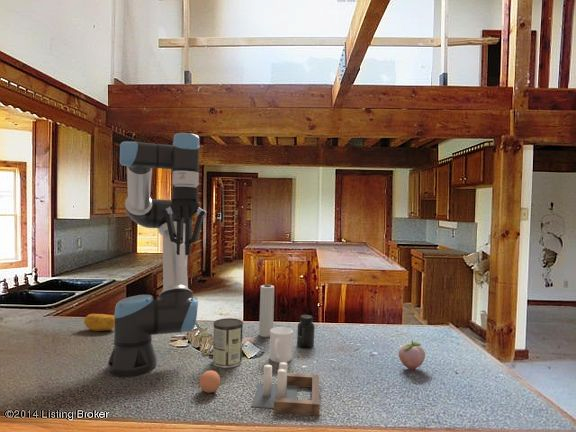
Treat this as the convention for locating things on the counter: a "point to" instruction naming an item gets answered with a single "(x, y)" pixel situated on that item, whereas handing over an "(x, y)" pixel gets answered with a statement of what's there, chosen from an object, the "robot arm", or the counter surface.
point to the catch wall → (298, 404)
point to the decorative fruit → (411, 355)
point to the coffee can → (227, 342)
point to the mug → (281, 344)
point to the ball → (209, 381)
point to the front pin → (267, 380)
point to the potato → (99, 322)
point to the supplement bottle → (305, 332)
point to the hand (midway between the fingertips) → (183, 266)
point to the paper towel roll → (266, 310)
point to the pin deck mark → (268, 402)
